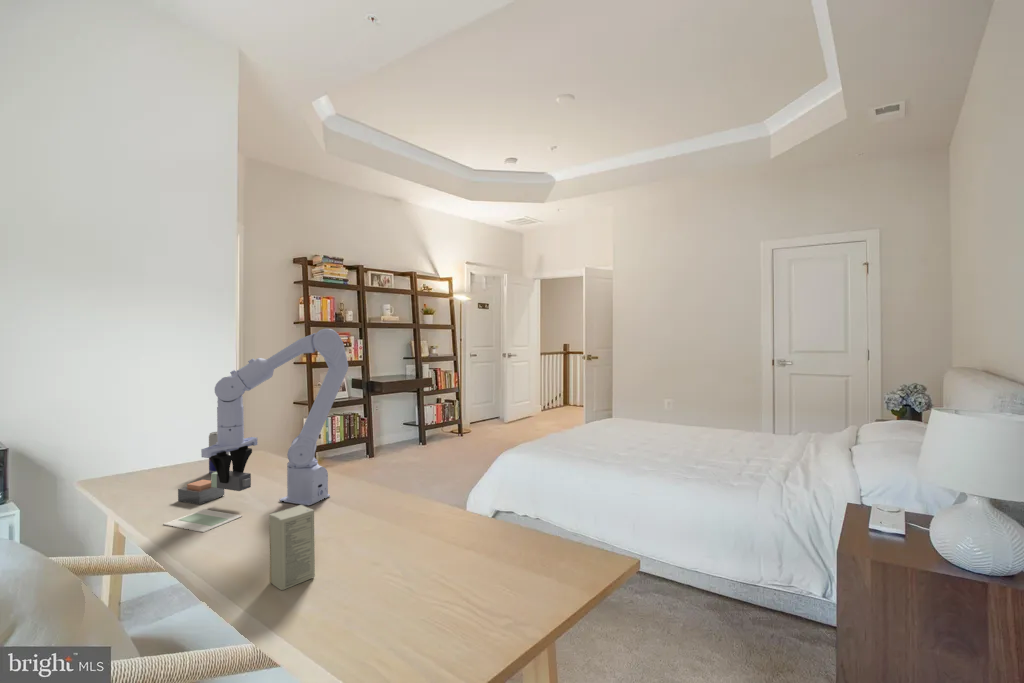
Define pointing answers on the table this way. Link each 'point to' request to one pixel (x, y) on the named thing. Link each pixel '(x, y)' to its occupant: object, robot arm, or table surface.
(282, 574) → the skincare box
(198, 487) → the button
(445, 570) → the table surface
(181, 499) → the button housing
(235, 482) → the block
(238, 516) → the paper sheet
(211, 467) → the energy drink
